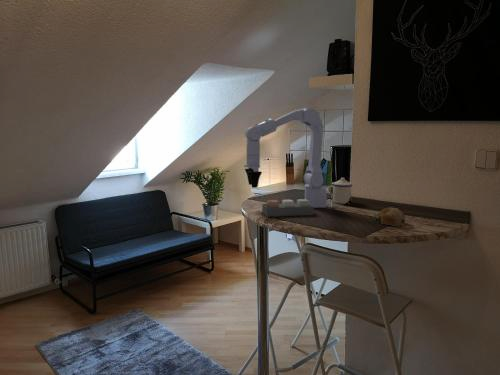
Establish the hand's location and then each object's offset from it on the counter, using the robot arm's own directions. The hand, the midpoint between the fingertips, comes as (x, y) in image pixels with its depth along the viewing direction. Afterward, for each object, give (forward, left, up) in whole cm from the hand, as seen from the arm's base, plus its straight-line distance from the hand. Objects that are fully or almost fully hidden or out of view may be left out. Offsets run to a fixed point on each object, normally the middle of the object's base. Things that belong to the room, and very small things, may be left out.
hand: (252, 186), depth 180 cm
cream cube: (-13, +11, -8) cm, 19 cm away
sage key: (-19, +11, -8) cm, 24 cm away
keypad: (-13, +12, -10) cm, 20 cm away
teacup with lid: (-44, -8, -10) cm, 46 cm away
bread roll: (-48, +32, -10) cm, 59 cm away
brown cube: (-6, +11, -8) cm, 15 cm away
